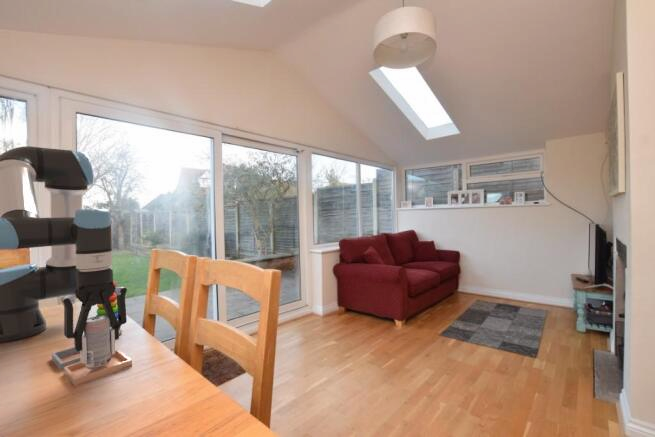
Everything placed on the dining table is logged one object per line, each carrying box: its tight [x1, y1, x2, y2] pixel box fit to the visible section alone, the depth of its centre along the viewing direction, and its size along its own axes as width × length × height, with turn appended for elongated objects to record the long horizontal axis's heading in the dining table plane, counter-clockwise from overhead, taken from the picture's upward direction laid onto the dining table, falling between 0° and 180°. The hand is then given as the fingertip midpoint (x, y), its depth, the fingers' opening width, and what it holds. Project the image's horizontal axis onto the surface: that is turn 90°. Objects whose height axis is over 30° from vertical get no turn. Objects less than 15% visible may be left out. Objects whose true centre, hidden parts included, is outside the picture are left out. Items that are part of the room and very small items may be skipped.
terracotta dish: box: [63, 349, 133, 388], centre depth 78 cm, size 10×12×2 cm
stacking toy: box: [96, 280, 123, 336], centre depth 100 cm, size 8×8×19 cm
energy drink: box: [83, 315, 111, 369], centre depth 78 cm, size 5×5×12 cm
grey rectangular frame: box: [51, 346, 81, 371], centre depth 86 cm, size 10×12×2 cm
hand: (98, 357), depth 78 cm, fingers closed on energy drink, 5 cm apart
